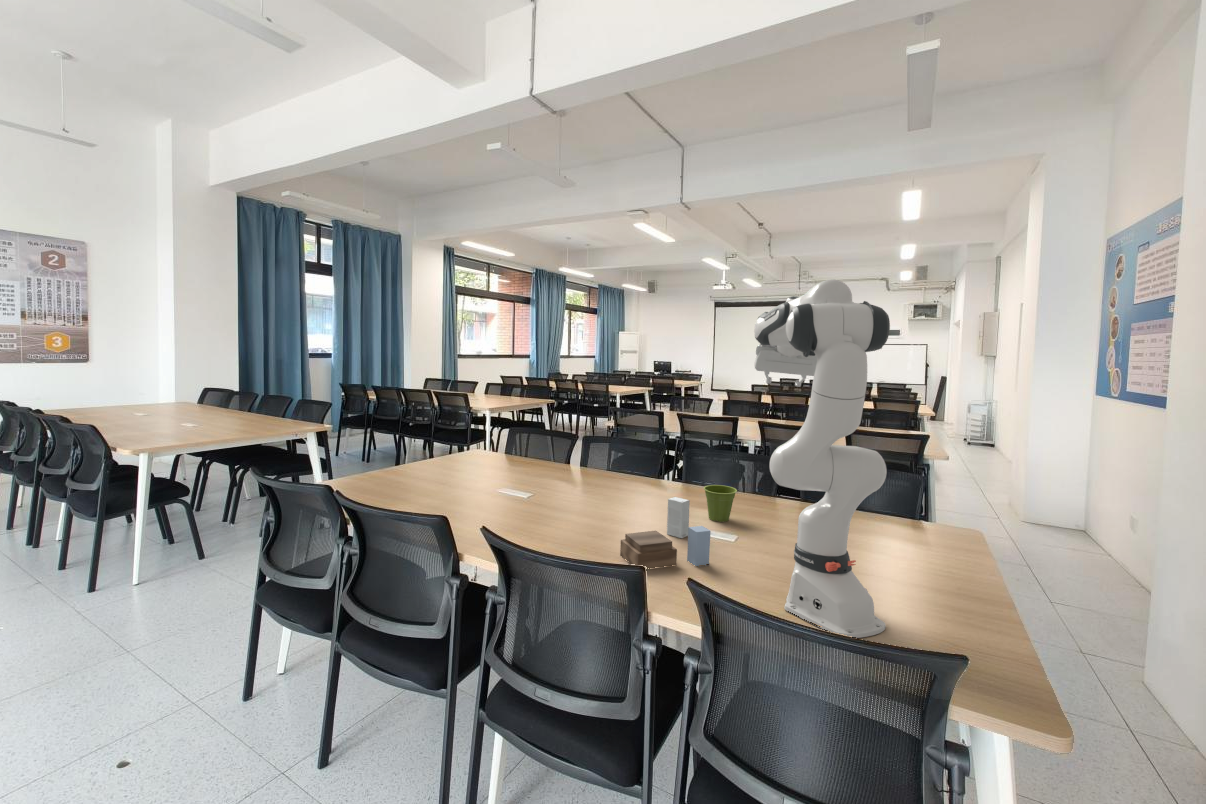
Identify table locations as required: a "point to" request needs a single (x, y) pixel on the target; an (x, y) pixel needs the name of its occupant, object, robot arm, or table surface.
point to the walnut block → (648, 549)
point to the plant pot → (719, 501)
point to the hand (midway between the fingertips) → (783, 384)
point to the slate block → (698, 545)
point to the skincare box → (678, 517)
